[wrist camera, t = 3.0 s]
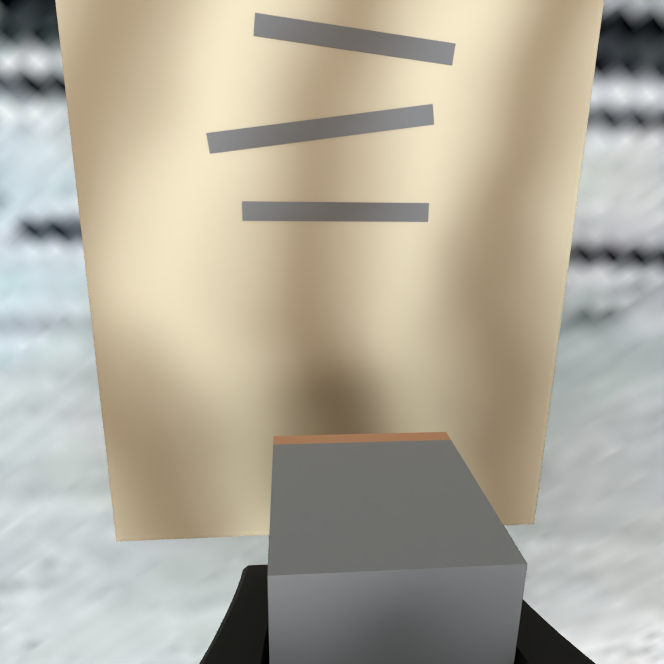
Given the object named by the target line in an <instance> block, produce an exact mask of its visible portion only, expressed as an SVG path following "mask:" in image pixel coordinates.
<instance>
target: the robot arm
mask: <svg viewBox="0 0 664 664" xmlns="http://www.w3.org/2000/svg"><path fill="white" fill-rule="evenodd" d="M200 664H270V662H269V619H268V565H249V566H247V567H246V568H245V569H244V570H243V572H242V576H241V579H240V582H239V585H238V587H237V590H236V593H235V595H234V597H233V600H232V602H231V604H230V607H229V609H228V611H227V613H226V615H225V617H224V619H223V621H222V623H221V625H220V627H219V629H218V631H217V633H216V635H215V637H214V639H213V641H212V643H211V645H210V646H209V648H208V650H207V652H206V653H205V655H204V657H203V659H202V660H201V662H200ZM514 664H595V663H594V662H593V661H592V660H590V659H589V658H588V657H587V656H585V655H584V654H583V653H582V652H581V651H579V650H578V649H577V648H576V647H575V646H574V645H572V644H571V643H570V642H569V641H568V640H566V639H565V638H564V637H563V636H562V635H561V634H560V633H558V632H557V631H556V630H555V629H554V628H553V627H552V626H551V625H549V624H548V623H547V622H546V621H545V620H544V619H543V618H542V617H541V616H540V615H539V614H538V613H537V612H535V611H534V610H533V609H532V608H531V607H530V606H529V605H528V604H527V603H526V602H525V601H524V600H523V599H522V607H521V614H520V622H519V629H518V636H517V644H516V651H515V659H514Z"/></svg>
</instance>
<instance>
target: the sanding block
mask: <svg viewBox="0 0 664 664" xmlns="http://www.w3.org/2000/svg"><path fill="white" fill-rule="evenodd" d="M526 570H527V563H526V561H525V559H524V558H523V556H522V555H521V553H520V551H519V550H518V548H517V546H516V545H515V543H514V542H513V540H512V538H511V537H510V535H509V533H508V532H507V530H506V528H505V527H504V525H503V524H502V522H501V520H500V519H499V517H498V515H497V514H496V512H495V511H494V509H493V507H492V506H491V504H490V502H489V501H488V499H487V498H486V496H485V494H484V493H483V491H482V489H481V488H480V486H479V485H478V483H477V481H476V480H475V478H474V476H473V475H472V473H471V471H470V470H469V468H468V467H467V465H466V463H465V462H464V460H463V458H462V457H461V455H460V454H459V452H458V450H457V449H456V447H455V445H454V444H453V442H452V441H451V439H450V437H449V436H448V434H447V432H418V433H378V434H339V435H299V436H273V459H272V483H271V506H270V529H269V553H268V619H269V662H270V664H514V659H515V651H516V644H517V636H518V629H519V622H520V614H521V607H522V599H523V592H524V585H525V577H526Z"/></svg>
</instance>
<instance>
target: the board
mask: <svg viewBox="0 0 664 664" xmlns="http://www.w3.org/2000/svg"><path fill="white" fill-rule="evenodd" d="M55 1H56V10H57V19H58V27H59V36H60V45H61V54H62V63H63V72H64V81H65V90H66V98H67V107H68V116H69V125H70V134H71V143H72V152H73V161H74V169H75V178H76V187H77V196H78V205H79V214H80V223H81V231H82V240H83V249H84V258H85V267H86V276H87V285H88V294H89V302H90V311H91V320H92V329H93V338H94V347H95V356H96V364H97V373H98V382H99V391H100V400H101V409H102V418H103V427H104V435H105V444H106V453H107V462H108V471H109V480H110V489H111V497H112V506H113V515H114V524H115V533H116V541H135V540H159V539H183V538H208V537H232V536H256V535H269V529H270V506H271V483H272V459H273V436H299V435H339V434H378V433H418V432H447V434H448V436H449V437H450V439H451V441H452V442H453V444H454V445H455V447H456V449H457V450H458V452H459V454H460V455H461V457H462V458H463V460H464V462H465V463H466V465H467V467H468V468H469V470H470V471H471V473H472V475H473V476H474V478H475V480H476V481H477V483H478V485H479V486H480V488H481V489H482V491H483V493H484V494H485V496H486V498H487V499H488V501H489V502H490V504H491V506H492V507H493V509H494V511H495V512H496V514H497V515H498V517H499V519H500V520H501V522H502V524H503V525H520V524H534V520H535V512H536V505H537V497H538V490H539V483H540V475H541V468H542V460H543V453H544V445H545V438H546V430H547V423H548V415H549V408H550V400H551V393H552V385H553V378H554V370H555V363H556V355H557V348H558V340H559V333H560V325H561V318H562V310H563V303H564V295H565V288H566V280H567V273H568V265H569V258H570V250H571V243H572V235H573V228H574V220H575V213H576V205H577V198H578V190H579V183H580V175H581V168H582V160H583V153H584V145H585V138H586V130H587V123H588V115H589V108H590V100H591V93H592V85H593V78H594V70H595V63H596V55H597V48H598V40H599V33H600V25H601V18H602V10H603V3H604V0H55Z"/></svg>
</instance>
